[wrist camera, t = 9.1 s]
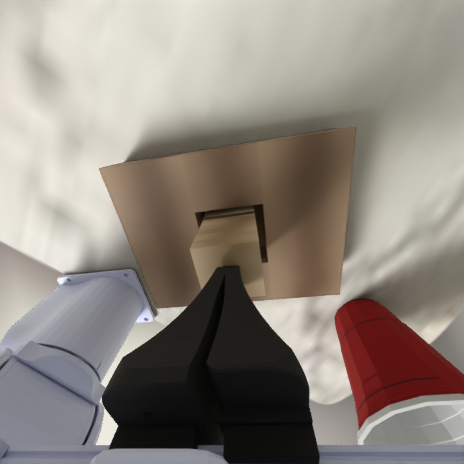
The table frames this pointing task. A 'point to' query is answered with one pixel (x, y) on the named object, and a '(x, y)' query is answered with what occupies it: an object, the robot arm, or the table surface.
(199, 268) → the oak peg
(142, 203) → the walnut socket block
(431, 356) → the plastic cup
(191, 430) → the robot arm
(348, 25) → the table surface
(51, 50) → the table surface
